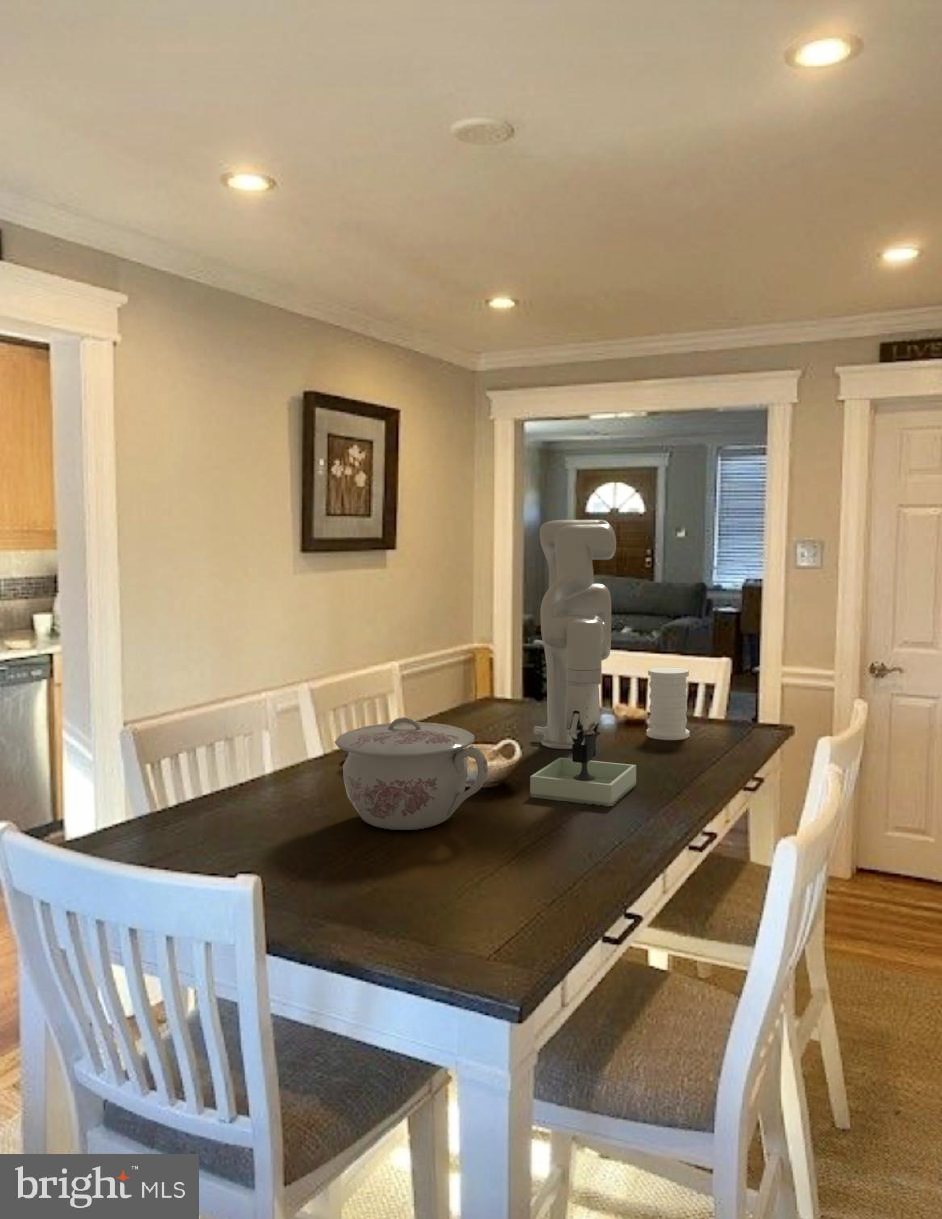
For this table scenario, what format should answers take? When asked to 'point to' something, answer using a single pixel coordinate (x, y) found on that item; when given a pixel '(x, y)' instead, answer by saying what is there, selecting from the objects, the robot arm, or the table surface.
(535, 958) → the table surface
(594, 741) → the sundae
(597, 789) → the box
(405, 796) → the chamber pot
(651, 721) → the decorative container
